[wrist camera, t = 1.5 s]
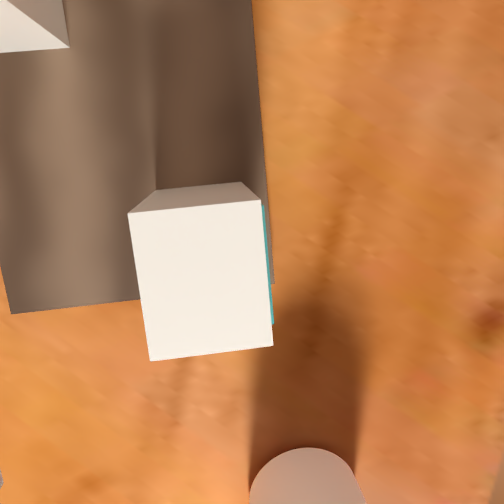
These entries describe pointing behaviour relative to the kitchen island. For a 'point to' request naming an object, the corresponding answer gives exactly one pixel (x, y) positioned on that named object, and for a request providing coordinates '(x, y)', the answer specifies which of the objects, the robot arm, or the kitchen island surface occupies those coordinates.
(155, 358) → the tall carton
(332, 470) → the beverage can
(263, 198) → the shelf board
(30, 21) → the faced carton
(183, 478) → the kitchen island surface
